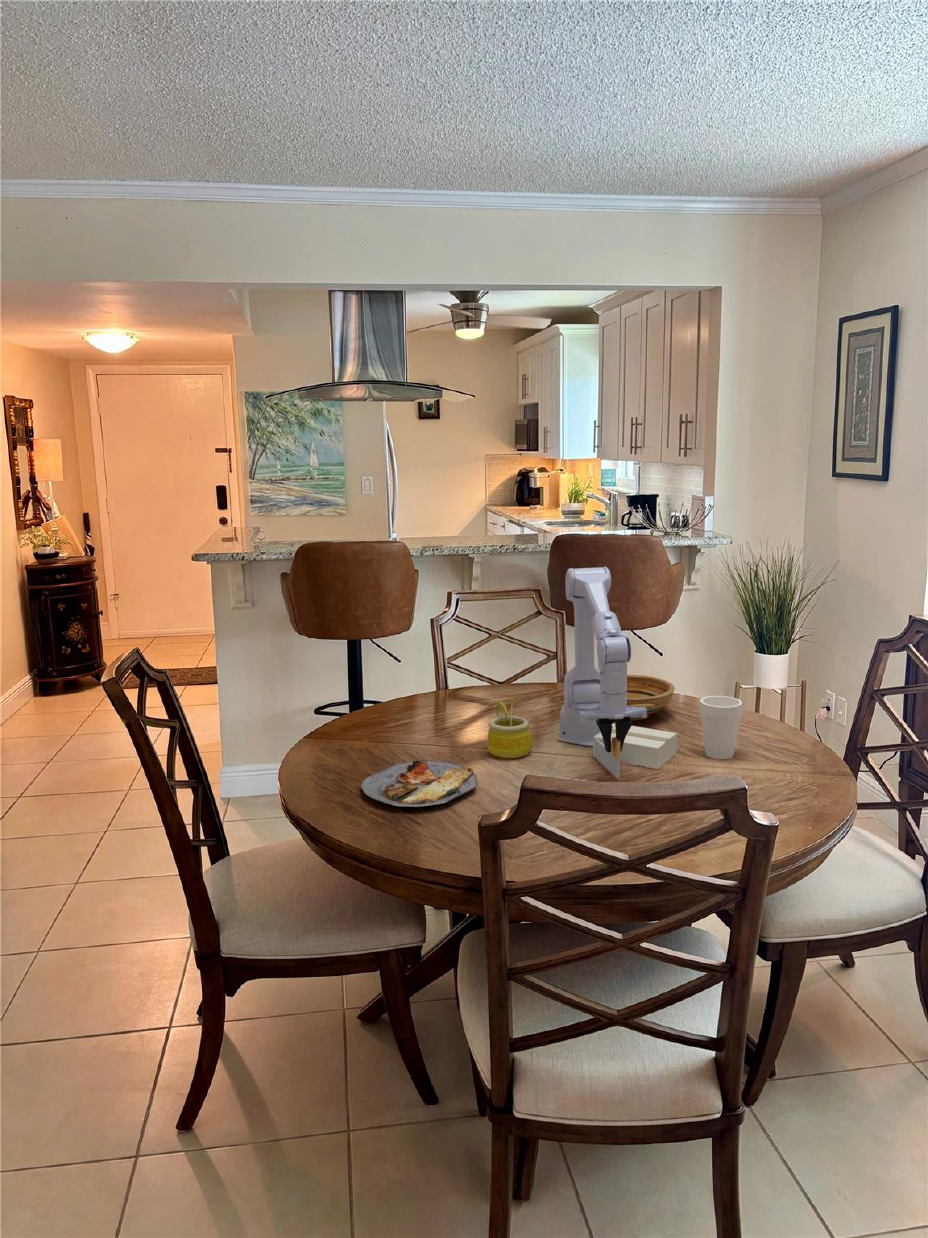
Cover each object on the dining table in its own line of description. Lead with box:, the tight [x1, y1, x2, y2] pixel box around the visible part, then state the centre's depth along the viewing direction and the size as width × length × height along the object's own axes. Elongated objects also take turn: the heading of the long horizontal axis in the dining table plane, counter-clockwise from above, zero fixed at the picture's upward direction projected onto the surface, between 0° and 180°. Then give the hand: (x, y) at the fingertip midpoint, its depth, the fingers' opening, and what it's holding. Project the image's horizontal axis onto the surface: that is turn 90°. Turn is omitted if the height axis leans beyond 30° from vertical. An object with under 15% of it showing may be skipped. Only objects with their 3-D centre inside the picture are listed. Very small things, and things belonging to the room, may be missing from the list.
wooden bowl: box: [599, 674, 676, 721], centre depth 240 cm, size 30×24×8 cm
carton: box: [592, 722, 678, 770], centre depth 209 cm, size 16×12×5 cm
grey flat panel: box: [595, 737, 621, 779], centre depth 200 cm, size 14×1×9 cm, turn 12°
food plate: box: [361, 758, 479, 809], centre depth 192 cm, size 25×23×4 cm
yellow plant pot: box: [486, 698, 534, 759], centre depth 213 cm, size 13×11×12 cm
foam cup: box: [699, 695, 743, 760], centre depth 207 cm, size 10×9×13 cm
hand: (613, 750), depth 194 cm, fingers closed
